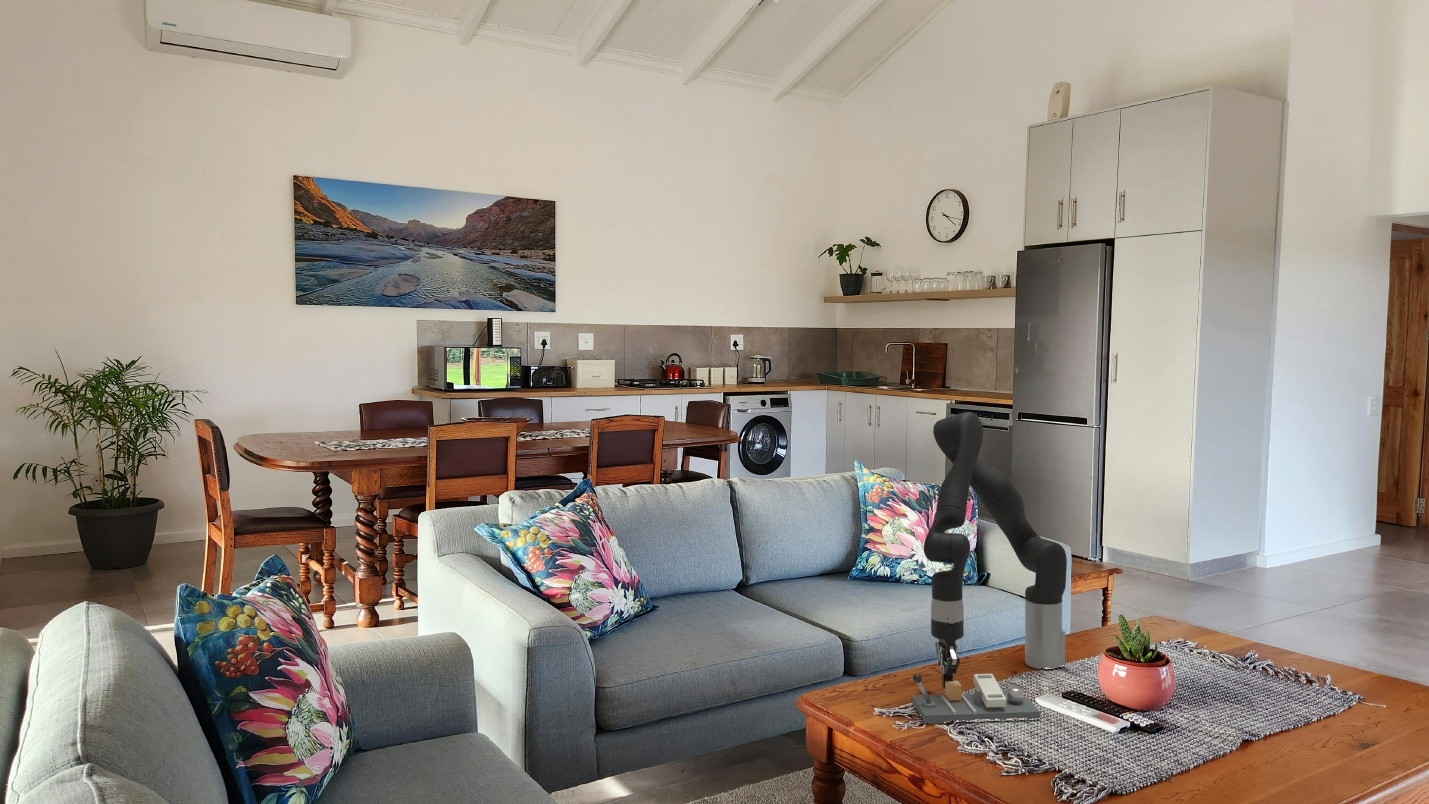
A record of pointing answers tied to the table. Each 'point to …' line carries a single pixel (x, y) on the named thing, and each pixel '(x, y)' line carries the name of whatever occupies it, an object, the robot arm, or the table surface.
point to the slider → (953, 690)
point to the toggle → (921, 687)
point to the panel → (970, 708)
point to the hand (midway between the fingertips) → (947, 687)
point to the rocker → (989, 690)
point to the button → (1015, 694)
